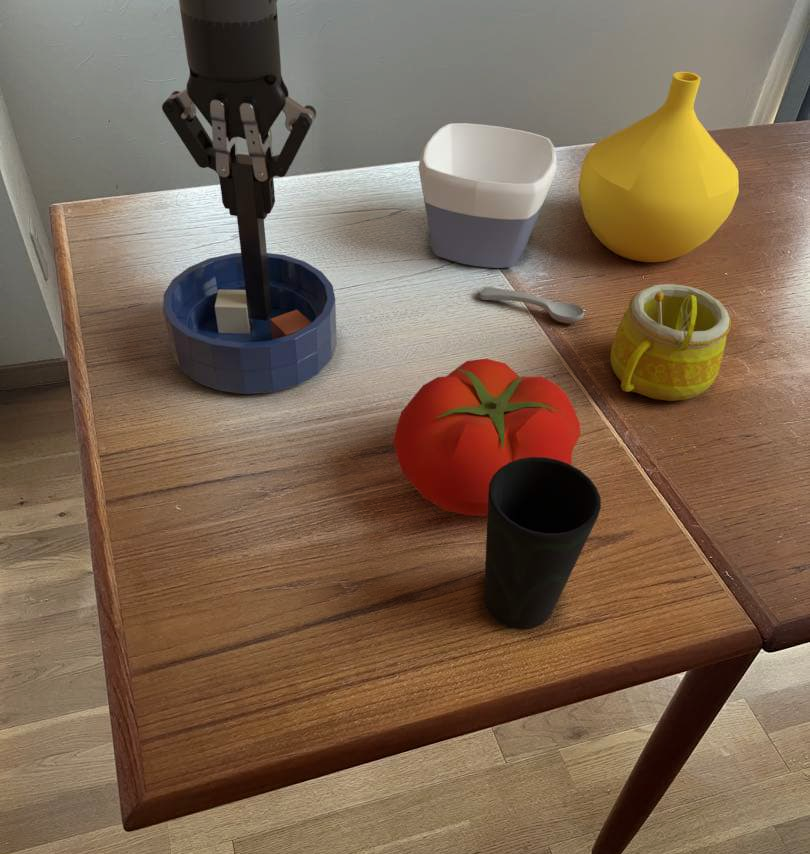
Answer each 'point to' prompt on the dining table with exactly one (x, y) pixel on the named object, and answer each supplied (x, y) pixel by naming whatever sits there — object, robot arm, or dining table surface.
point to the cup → (534, 537)
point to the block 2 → (288, 324)
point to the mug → (670, 342)
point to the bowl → (484, 191)
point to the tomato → (480, 431)
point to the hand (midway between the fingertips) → (250, 212)
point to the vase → (659, 182)
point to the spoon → (555, 309)
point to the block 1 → (232, 312)
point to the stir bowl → (255, 352)
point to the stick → (251, 240)
